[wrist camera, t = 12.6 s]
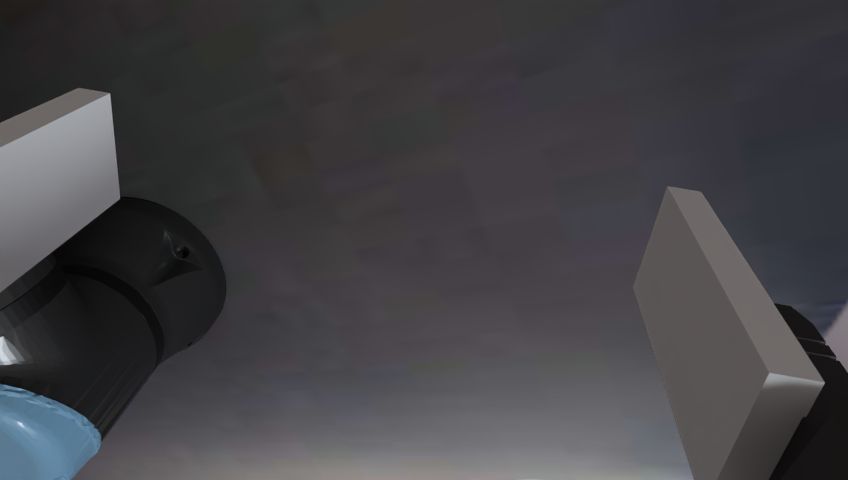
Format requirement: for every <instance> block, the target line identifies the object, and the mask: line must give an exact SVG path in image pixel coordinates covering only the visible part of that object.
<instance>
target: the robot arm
mask: <svg viewBox="0 0 848 480" xmlns="http://www.w3.org/2000/svg"><path fill="white" fill-rule="evenodd" d="M633 289H634V292H635V295H636V298H637V301H638V305H639V308H640V311H641V314H642V317H643V320H644V323H645V327H646V330H647V333H648V336H649V339H650V342H651V345H652V349H653V352H654V355H655V358H656V361H657V364H658V367H659V371H660V374H661V377H662V380H663V383H664V386H665V389H666V393H667V396H668V399H669V402H670V405H671V408H672V411H673V415H674V418H675V421H676V424H677V427H678V430H679V433H680V437H681V440H682V443H683V446H684V449H685V452H686V455H687V459H688V462H689V465H690V468H691V471H692V474H693V477H694V480H848V373H847V372H846V370H845V368H844V367H843V366H842V364H841V363H840V361H836V356H835V354H834V353H833V352H832V350H831V349H830V347H829V346H827V345H825V343H826V342H825V340H824V339H823V338H822V336H821V335H820V333H819V332H818V330H817V329H816V328H815V326H814V325H813V324H812V323H811V322H810V321H809V320H807V319H806V318H805V317H803V316H802V315H801V314H800V313H798V312H797V311H796V310H795V309H793V308H792V307H791V306H787V305H781V304H775V303H773V302H772V300H771V299H770V297H769V296H768V294H767V293H766V291H765V289H764V288H763V286H762V285H761V283H760V282H759V280H758V279H757V277H756V276H755V274H754V273H753V271H752V269H751V268H750V266H749V265H748V263H747V262H746V260H745V259H744V257H743V256H742V254H741V253H740V251H739V249H738V248H737V246H736V245H735V243H734V242H733V240H732V239H731V237H730V236H729V234H728V233H727V231H726V229H725V228H724V226H723V225H722V223H721V222H720V220H719V219H718V217H717V216H716V214H715V213H714V211H713V209H712V208H711V206H710V205H709V203H708V202H707V200H706V199H705V197H704V196H703V194H702V193H701V192H699V191H693V190H687V189H681V188H675V187H669V186H667V189H666V192H665V195H664V198H663V201H662V204H661V207H660V210H659V213H658V216H657V218H656V221H655V224H654V227H653V230H652V233H651V236H650V239H649V242H648V245H647V248H646V251H645V254H644V257H643V260H642V263H641V266H640V269H639V272H638V275H637V278H636V281H635V284H634V286H633ZM225 297H226V280H225V275H224V271H223V267H222V265H221V262H220V260H219V258H218V255H217V254H216V252H215V250H214V249H213V247H212V245H211V244H210V243H209V241H208V240H207V239H206V238H205V236H204V235H203V234H202V233H201V232H200V231H199V230H198V229H197V228H196V227H195V226H194V225H192V224H191V223H190V222H189V221H187V220H186V219H185V218H183V217H182V216H180V215H179V214H177V213H175V212H174V211H172V210H170V209H168V208H166V207H163V206H161V205H159V204H156V203H153V202H149V201H145V200H140V199H133V198H120V191H119V181H118V171H117V160H116V150H115V140H114V130H113V119H112V109H111V99H110V93H106V92H100V91H94V90H88V89H82V88H77V89H75V90H73V91H71V92H68V93H66V94H64V95H62V96H60V97H57V98H55V99H53V100H51V101H48V102H46V103H44V104H42V105H39V106H37V107H35V108H33V109H30V110H28V111H26V112H24V113H21V114H19V115H17V116H15V117H13V118H10V119H8V120H6V121H4V122H1V123H0V480H71V479H72V478H73V477H74V476H75V474H76V473H77V472H78V471H79V470H80V469H81V468H82V467H83V465H84V464H85V463H86V462H87V461H88V460H89V459H90V458H91V457H93V456H94V455H95V454H96V453H97V452H98V450H99V448H100V445H101V442H102V441H103V440H104V438H105V437H106V436H107V434H108V433H109V431H110V430H111V429H112V427H113V426H114V425H115V423H116V422H117V421H118V419H119V418H120V416H121V415H122V414H123V412H124V411H125V410H126V408H127V407H128V406H129V404H130V403H131V401H132V400H133V399H134V397H135V396H136V395H137V393H138V392H139V391H140V389H141V388H142V386H143V385H144V384H145V382H146V381H147V380H148V378H149V377H150V375H151V374H152V373H153V371H154V370H155V369H156V367H157V366H158V365H159V364H161V363H162V362H164V361H165V360H166V359H168V358H170V357H171V356H173V355H174V354H176V353H177V352H179V351H182V350H184V349H186V348H188V347H190V346H191V345H193V344H195V343H196V342H197V341H199V340H200V339H201V338H202V337H203V336H204V335H205V334H206V333H207V332H208V330H209V329H210V328H211V326H212V325H213V323H214V322H215V320H216V319H217V317H218V316H219V314H220V312H221V310H222V308H223V305H224V302H225Z"/></svg>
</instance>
